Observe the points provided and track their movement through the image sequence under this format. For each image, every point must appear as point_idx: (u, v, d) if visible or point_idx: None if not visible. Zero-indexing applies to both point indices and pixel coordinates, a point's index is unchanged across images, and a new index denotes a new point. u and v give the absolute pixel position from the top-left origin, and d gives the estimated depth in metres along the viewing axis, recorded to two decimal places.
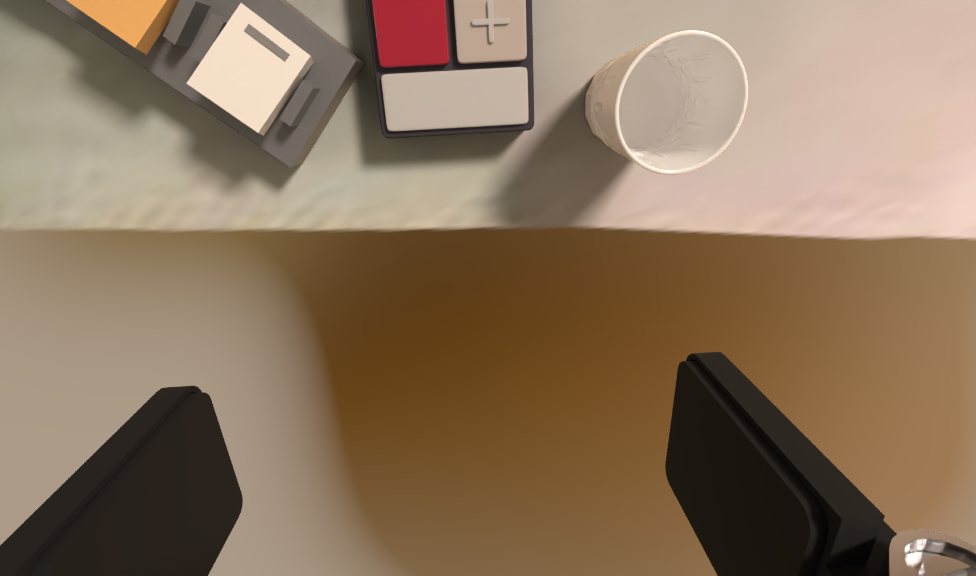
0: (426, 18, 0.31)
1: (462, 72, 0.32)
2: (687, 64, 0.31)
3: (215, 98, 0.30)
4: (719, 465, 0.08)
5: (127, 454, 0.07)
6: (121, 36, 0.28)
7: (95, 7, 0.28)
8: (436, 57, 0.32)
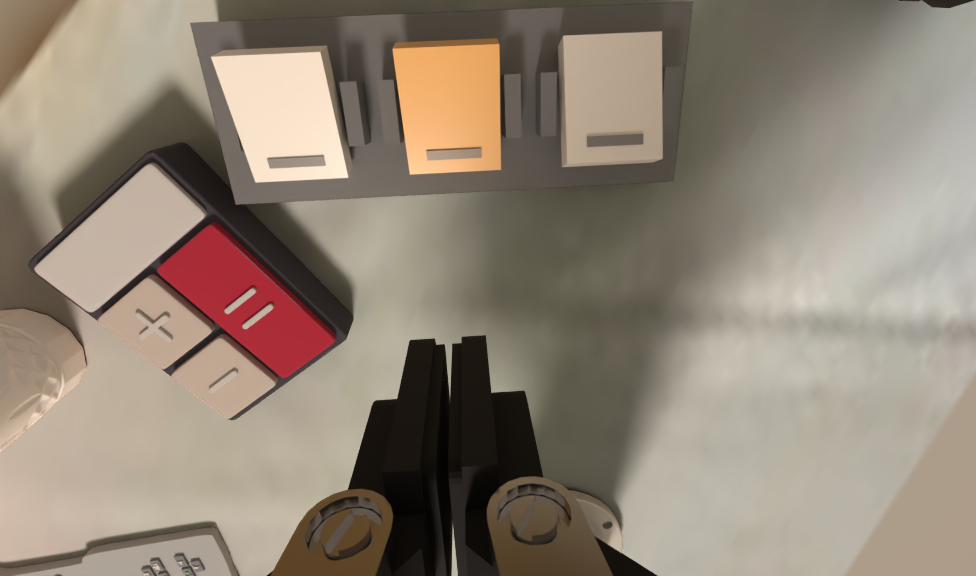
0: (208, 292, 0.28)
1: (137, 270, 0.27)
2: None
3: (282, 60, 0.21)
4: None
5: (427, 387, 0.08)
6: (412, 50, 0.21)
7: (453, 61, 0.22)
8: (169, 267, 0.27)
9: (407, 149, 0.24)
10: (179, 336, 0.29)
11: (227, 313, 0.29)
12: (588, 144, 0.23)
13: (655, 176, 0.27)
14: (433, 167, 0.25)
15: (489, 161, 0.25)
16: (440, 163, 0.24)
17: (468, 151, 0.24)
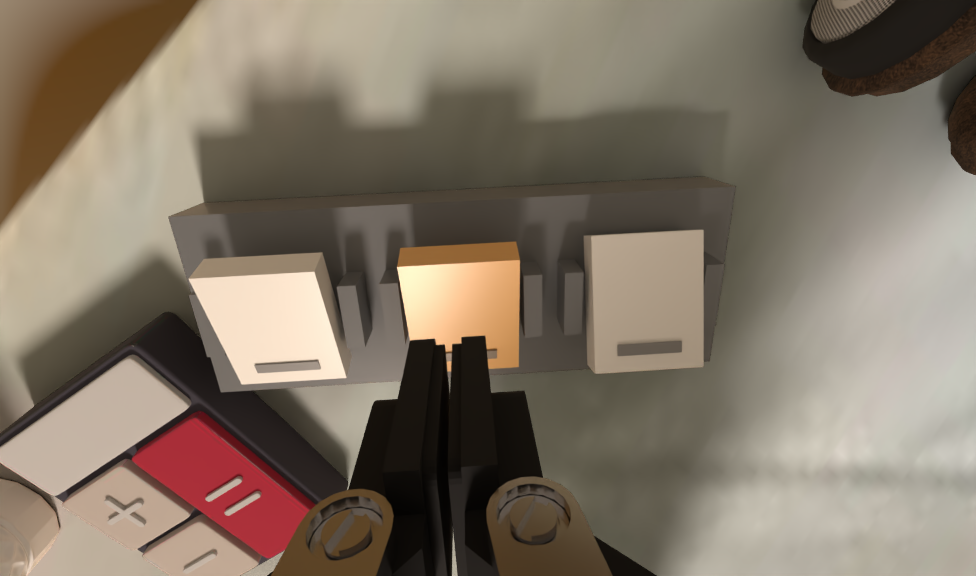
0: (188, 480, 0.25)
1: (109, 458, 0.24)
2: None
3: (271, 280, 0.18)
4: None
5: (427, 387, 0.08)
6: (419, 267, 0.18)
7: (466, 276, 0.19)
8: (146, 457, 0.24)
9: None
10: (154, 520, 0.26)
11: (209, 501, 0.26)
12: (619, 352, 0.21)
13: None
14: None
15: (505, 360, 0.22)
16: (450, 363, 0.22)
17: None
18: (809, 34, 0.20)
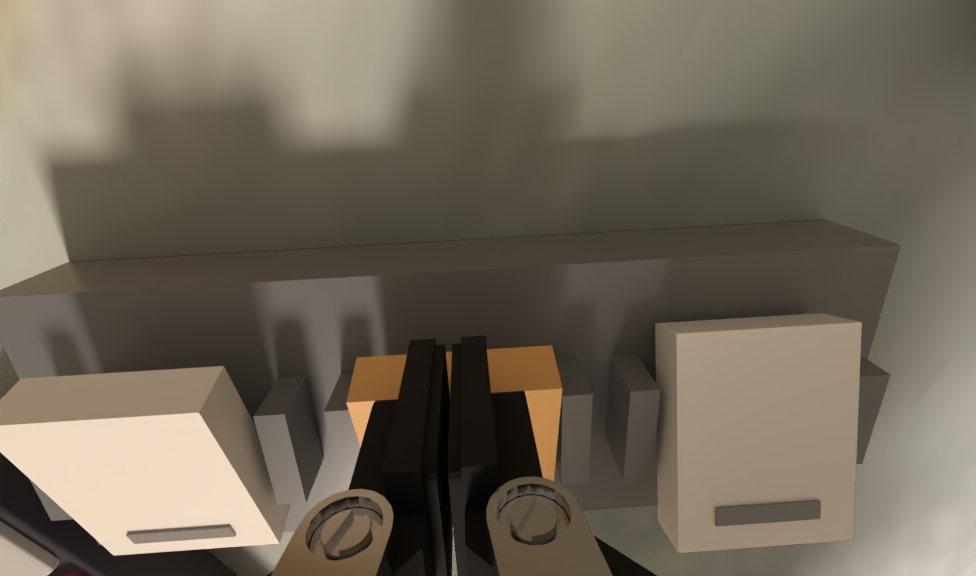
0: None
1: None
2: None
3: (124, 426, 0.10)
4: None
5: (427, 387, 0.08)
6: None
7: None
8: None
9: None
10: None
11: None
12: (718, 518, 0.13)
13: None
14: None
15: None
16: None
17: None
18: None
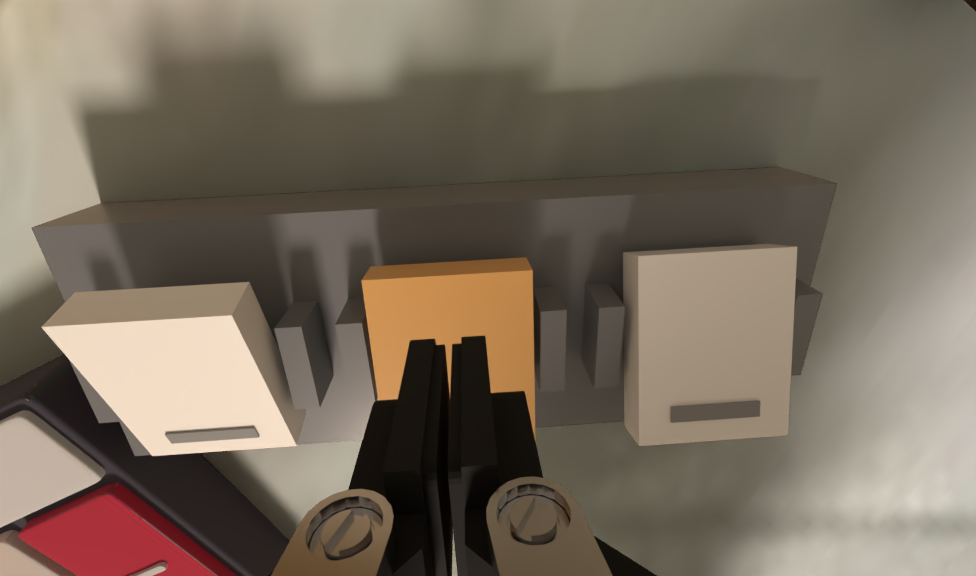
0: (94, 562, 0.19)
1: None
2: None
3: (168, 327, 0.12)
4: None
5: (427, 387, 0.08)
6: (393, 281, 0.13)
7: (458, 295, 0.13)
8: (38, 534, 0.19)
9: None
10: None
11: None
12: (673, 416, 0.15)
13: None
14: None
15: None
16: None
17: None
18: None
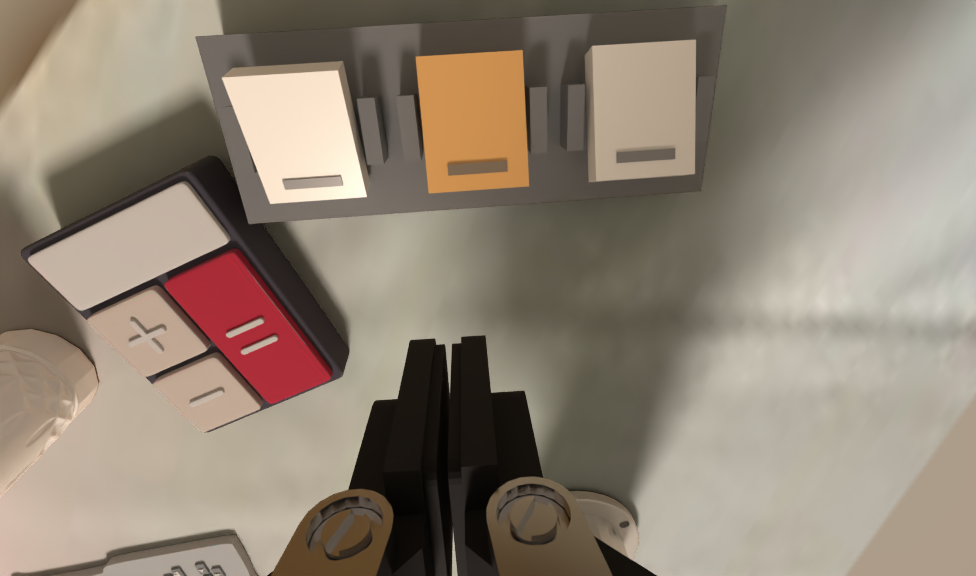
0: (213, 313, 0.27)
1: (142, 280, 0.26)
2: None
3: (298, 80, 0.20)
4: None
5: (427, 387, 0.08)
6: (435, 57, 0.21)
7: (476, 68, 0.21)
8: (178, 284, 0.26)
9: (427, 164, 0.22)
10: (172, 349, 0.28)
11: (229, 337, 0.28)
12: (618, 159, 0.22)
13: (682, 186, 0.26)
14: (454, 184, 0.22)
15: (516, 176, 0.22)
16: (462, 179, 0.22)
17: (493, 165, 0.22)
18: None
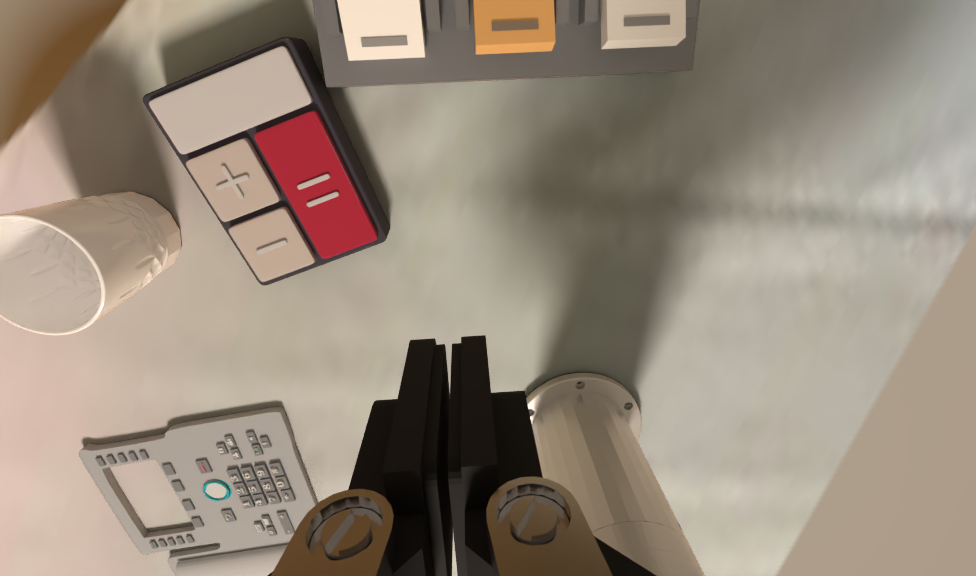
0: (289, 166, 0.33)
1: (237, 130, 0.32)
2: None
3: None
4: None
5: (427, 387, 0.08)
6: None
7: None
8: (266, 136, 0.32)
9: (475, 21, 0.28)
10: (250, 196, 0.34)
11: (299, 189, 0.34)
12: (625, 24, 0.29)
13: (677, 65, 0.32)
14: (496, 38, 0.28)
15: (545, 33, 0.28)
16: (503, 34, 0.28)
17: (527, 23, 0.28)
18: None
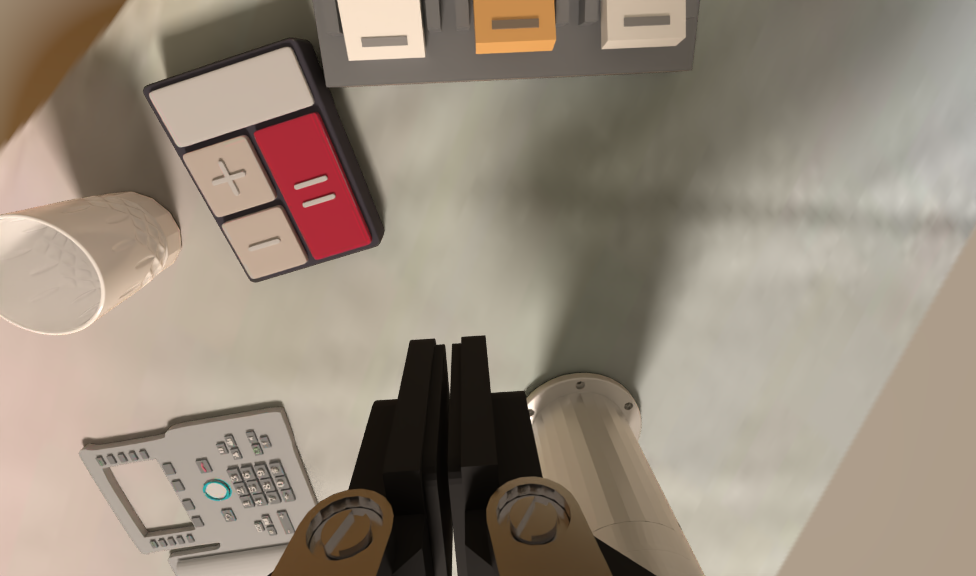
0: (287, 166, 0.33)
1: (236, 127, 0.32)
2: None
3: None
4: None
5: (427, 387, 0.08)
6: None
7: None
8: (265, 134, 0.32)
9: (475, 20, 0.28)
10: (246, 193, 0.34)
11: (295, 189, 0.34)
12: (625, 24, 0.29)
13: (677, 65, 0.32)
14: (497, 36, 0.28)
15: (545, 31, 0.28)
16: (503, 32, 0.28)
17: (528, 21, 0.28)
18: None
